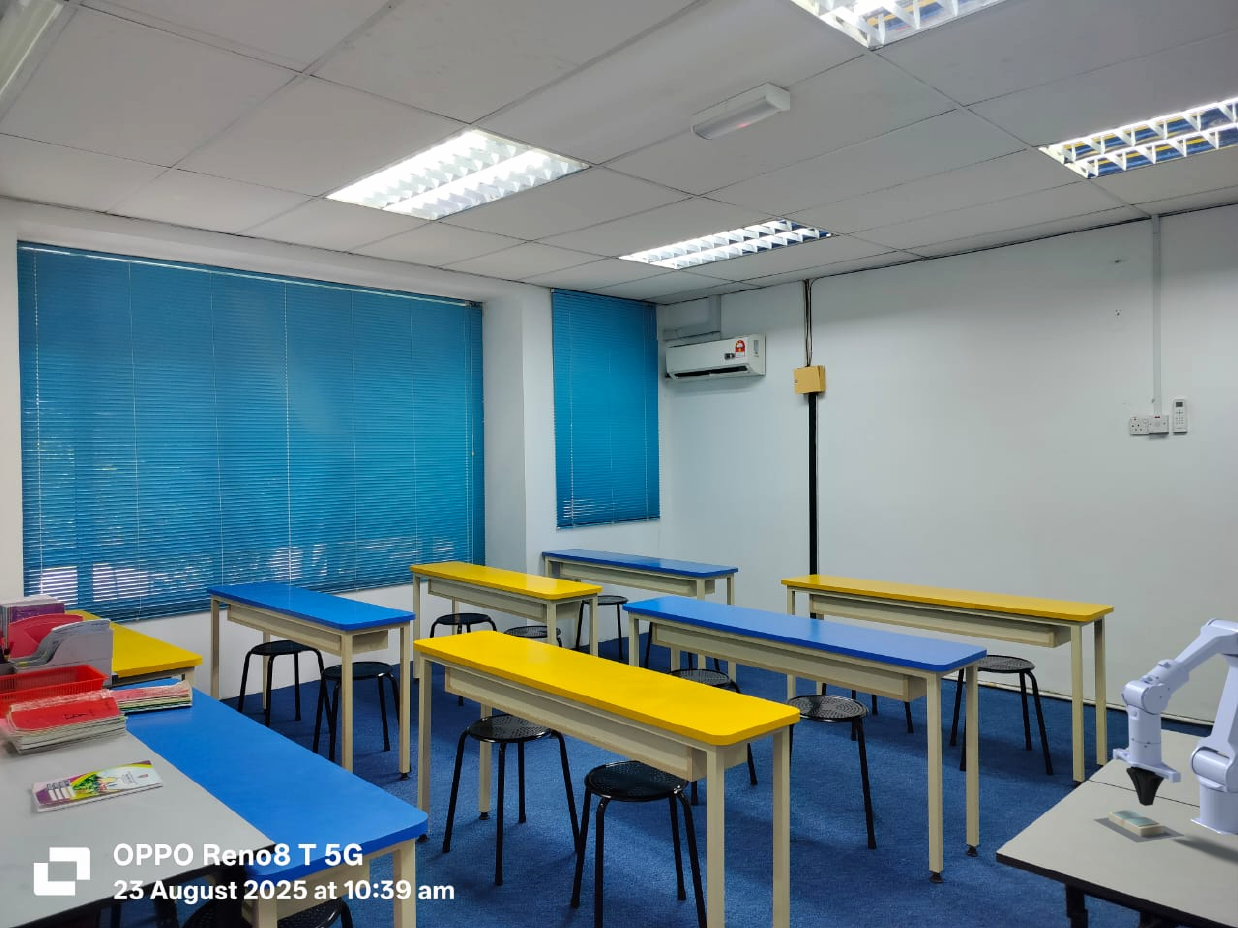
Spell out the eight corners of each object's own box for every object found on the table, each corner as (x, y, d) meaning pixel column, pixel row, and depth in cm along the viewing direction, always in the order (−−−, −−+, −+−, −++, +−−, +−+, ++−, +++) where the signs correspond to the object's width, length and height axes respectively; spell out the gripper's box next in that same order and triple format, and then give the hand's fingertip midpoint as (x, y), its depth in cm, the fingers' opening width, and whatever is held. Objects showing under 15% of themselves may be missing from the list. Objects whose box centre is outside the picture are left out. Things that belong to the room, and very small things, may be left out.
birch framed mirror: (1164, 832, 167) (1131, 816, 175) (1163, 824, 167) (1131, 808, 175) (1140, 836, 166) (1108, 819, 174) (1140, 827, 166) (1108, 811, 174)
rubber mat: (1138, 814, 177) (1138, 813, 177) (1184, 836, 166) (1184, 835, 166) (1093, 821, 174) (1093, 819, 174) (1136, 844, 164) (1136, 842, 164)
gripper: (1100, 730, 174) (1102, 792, 174) (1160, 752, 160) (1161, 820, 160) (1127, 727, 176) (1128, 789, 176) (1188, 749, 162) (1189, 816, 162)
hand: (1146, 804), depth 168 cm, fingers closed
